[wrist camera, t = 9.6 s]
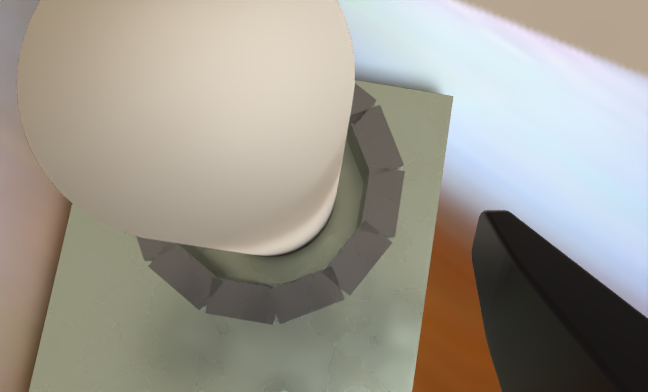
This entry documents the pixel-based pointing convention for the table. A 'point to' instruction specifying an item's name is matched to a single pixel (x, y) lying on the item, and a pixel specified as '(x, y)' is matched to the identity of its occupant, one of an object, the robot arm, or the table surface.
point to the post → (192, 115)
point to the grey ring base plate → (265, 283)
